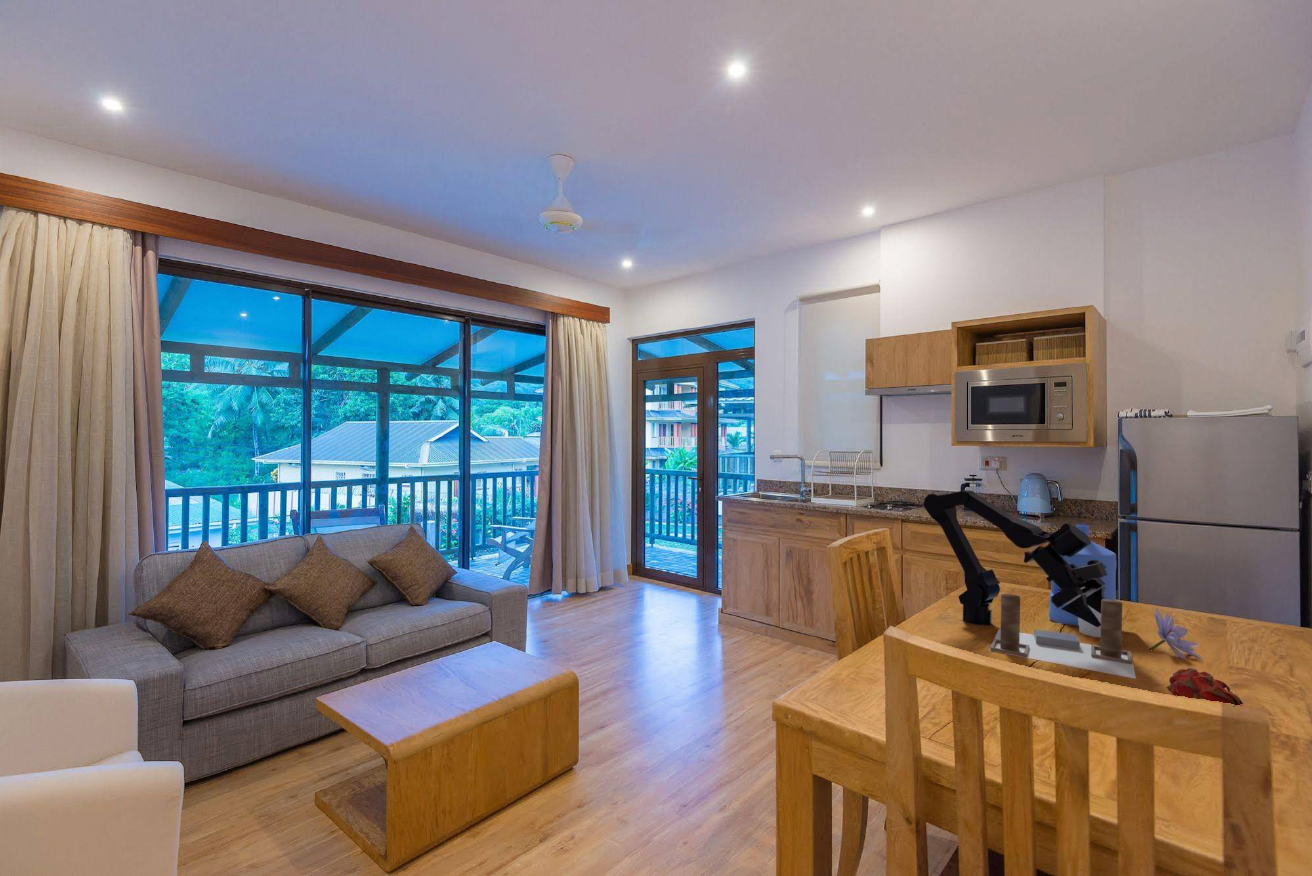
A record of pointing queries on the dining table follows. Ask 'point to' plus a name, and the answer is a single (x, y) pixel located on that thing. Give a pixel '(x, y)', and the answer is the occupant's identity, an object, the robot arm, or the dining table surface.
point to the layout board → (1070, 656)
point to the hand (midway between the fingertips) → (1106, 622)
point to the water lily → (1173, 636)
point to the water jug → (1081, 560)
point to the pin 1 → (1010, 622)
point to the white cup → (1090, 626)
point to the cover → (1056, 639)
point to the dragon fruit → (1201, 687)
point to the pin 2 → (1111, 628)
